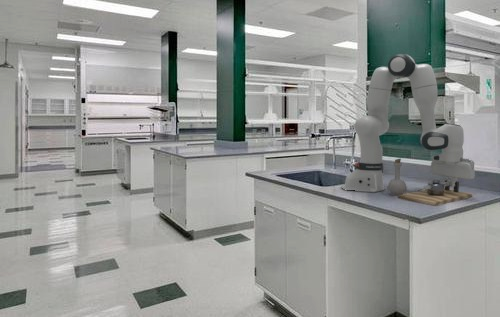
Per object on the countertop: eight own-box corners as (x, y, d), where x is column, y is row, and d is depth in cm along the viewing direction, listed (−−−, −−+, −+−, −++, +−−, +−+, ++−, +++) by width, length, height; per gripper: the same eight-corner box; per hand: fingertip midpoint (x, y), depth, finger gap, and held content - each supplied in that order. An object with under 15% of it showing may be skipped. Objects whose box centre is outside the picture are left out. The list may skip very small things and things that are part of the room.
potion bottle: (404, 196, 170) (406, 159, 168) (385, 194, 175) (386, 158, 173) (407, 193, 178) (409, 157, 176) (388, 191, 182) (390, 157, 180)
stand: (434, 205, 153) (435, 191, 152) (398, 198, 168) (398, 184, 167) (472, 196, 169) (473, 183, 168) (435, 190, 184) (436, 178, 183)
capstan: (431, 197, 161) (432, 183, 161) (418, 194, 167) (418, 181, 167) (457, 192, 171) (458, 179, 170) (443, 189, 177) (444, 177, 176)
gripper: (478, 158, 161) (477, 188, 163) (437, 155, 179) (436, 182, 181) (470, 159, 158) (468, 190, 160) (428, 156, 177) (428, 183, 178)
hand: (451, 186), depth 171 cm, fingers closed
